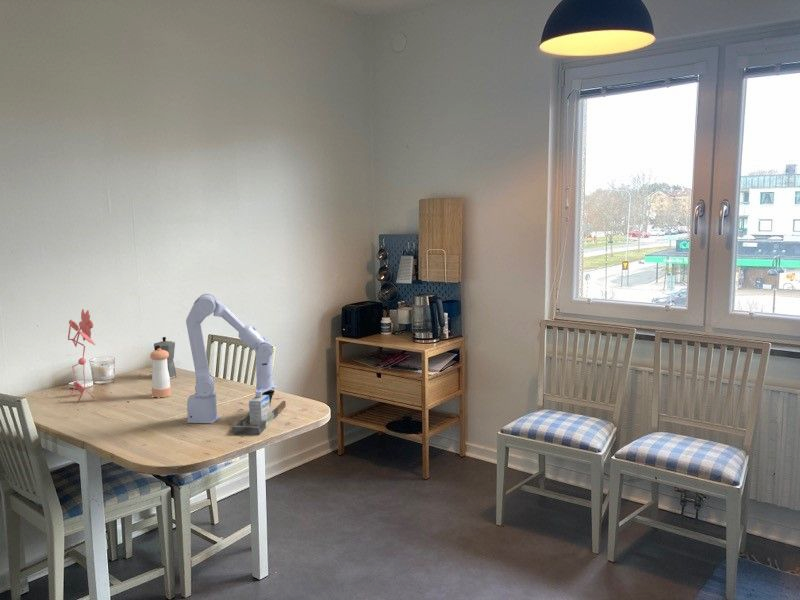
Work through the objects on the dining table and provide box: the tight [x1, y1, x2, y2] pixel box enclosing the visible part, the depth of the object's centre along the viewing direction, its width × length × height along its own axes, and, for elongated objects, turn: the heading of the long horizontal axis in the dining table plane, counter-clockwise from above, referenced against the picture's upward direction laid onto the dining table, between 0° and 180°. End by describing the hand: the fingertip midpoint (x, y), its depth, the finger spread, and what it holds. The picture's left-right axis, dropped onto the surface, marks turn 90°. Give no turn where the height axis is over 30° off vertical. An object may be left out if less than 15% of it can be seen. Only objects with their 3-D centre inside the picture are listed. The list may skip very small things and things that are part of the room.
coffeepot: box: [153, 336, 177, 377], centre depth 284 cm, size 15×9×18 cm, turn 175°
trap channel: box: [232, 400, 287, 436], centre depth 226 cm, size 9×30×2 cm, turn 173°
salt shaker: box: [149, 348, 172, 398], centre depth 256 cm, size 7×7×19 cm
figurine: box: [67, 308, 96, 402], centre depth 254 cm, size 15×26×35 cm, turn 43°
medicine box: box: [248, 395, 271, 426], centre depth 224 cm, size 8×4×9 cm, turn 170°
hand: (265, 411), depth 232 cm, fingers closed
